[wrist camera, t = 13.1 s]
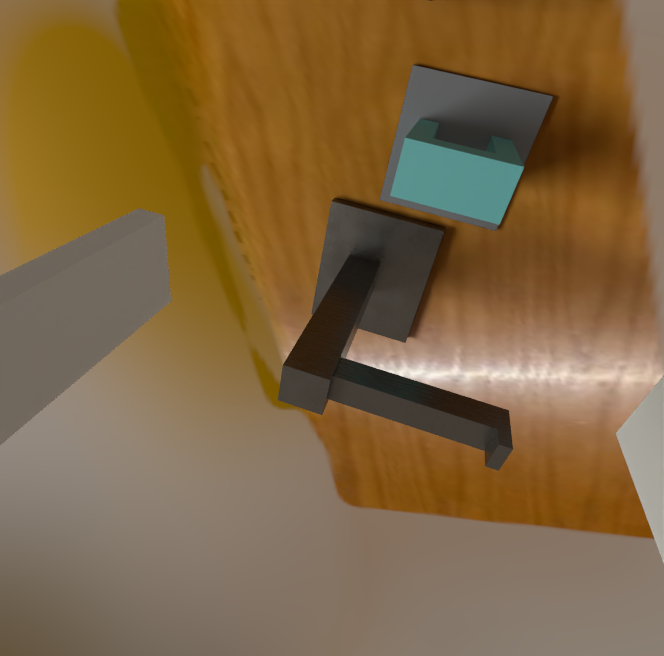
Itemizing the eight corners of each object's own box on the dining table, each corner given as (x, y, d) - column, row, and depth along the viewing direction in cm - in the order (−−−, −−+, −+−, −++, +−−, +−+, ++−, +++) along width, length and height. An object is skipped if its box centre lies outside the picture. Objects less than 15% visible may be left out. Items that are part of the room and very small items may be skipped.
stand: (334, 197, 38) (247, 291, 23) (520, 248, 36) (555, 385, 21) (314, 309, 45) (237, 435, 30) (469, 356, 43) (468, 516, 28)
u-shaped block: (407, 165, 34) (390, 195, 27) (419, 118, 32) (405, 137, 25) (493, 187, 33) (499, 224, 26) (511, 140, 31) (524, 167, 24)
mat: (413, 64, 31) (413, 64, 31) (552, 96, 30) (553, 96, 29) (380, 198, 37) (379, 199, 36) (495, 229, 36) (495, 230, 35)
